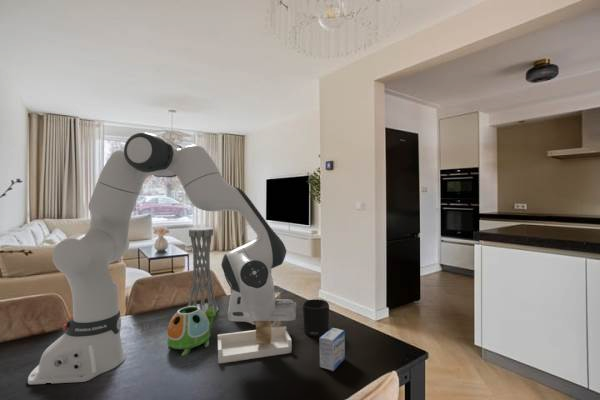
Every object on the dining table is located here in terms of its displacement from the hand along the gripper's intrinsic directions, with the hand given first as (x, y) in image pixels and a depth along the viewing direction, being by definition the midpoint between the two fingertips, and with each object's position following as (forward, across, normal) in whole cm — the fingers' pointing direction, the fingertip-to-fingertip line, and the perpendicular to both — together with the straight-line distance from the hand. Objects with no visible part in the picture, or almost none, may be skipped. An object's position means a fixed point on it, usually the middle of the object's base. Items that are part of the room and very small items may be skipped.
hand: (263, 322), depth 97 cm
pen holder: (+15, -17, -3) cm, 23 cm away
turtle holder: (+10, +24, +3) cm, 26 cm away
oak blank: (+4, 0, +4) cm, 6 cm away
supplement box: (+16, -1, -3) cm, 16 cm away
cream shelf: (+6, +3, +7) cm, 9 cm away
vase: (+30, +30, -17) cm, 46 cm away
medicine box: (+1, -21, +12) cm, 24 cm away
